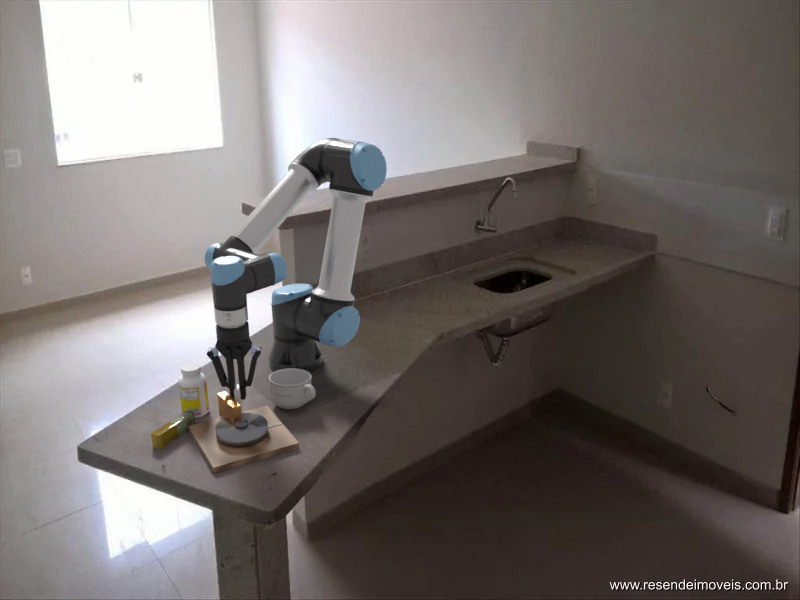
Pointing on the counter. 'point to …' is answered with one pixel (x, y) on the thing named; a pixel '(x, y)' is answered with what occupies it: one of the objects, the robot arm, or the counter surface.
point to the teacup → (291, 388)
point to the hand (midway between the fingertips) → (239, 410)
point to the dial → (238, 424)
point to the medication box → (172, 430)
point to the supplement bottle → (193, 390)
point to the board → (233, 457)
